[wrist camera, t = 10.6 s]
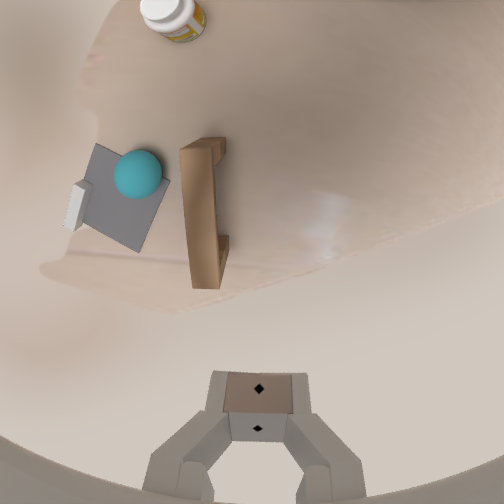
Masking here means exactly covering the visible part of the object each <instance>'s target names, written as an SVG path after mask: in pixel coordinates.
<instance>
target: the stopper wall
mask: <svg viewBox="0 0 504 504" xmlns="http://www.w3.org/2000/svg"><path fill="white" fill-rule="evenodd" d="M92 187H93V185H92V184H90V183H88V182H86V181H84V179H82V180H81V181H79V182H77V183H75V184H74V186H73V189H72V193H71V197H70V201H69V205H68V209H67V213H66V217H65V222H64V226H65V227H66V228H68V229H70V230H71V231H73V232H74V231H76V230H77V229H78V228H79V227H80V226H82V223H83V218H84V214H85V211H86V207H87V204H88V200H89V197H90V194H91V190H92Z"/></svg>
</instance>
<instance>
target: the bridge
mask: <svg viewBox="0 0 504 504" xmlns="http://www.w3.org/2000/svg"><path fill="white" fill-rule="evenodd" d="M179 153H180V168H181V182H182V194H183V206H184V216H185V227H186V236H187V246H188V255H189V263H190V272H191V280H192V287H193V288H194V289H220V285H221V281H222V277H223V273H224V269H225V265H226V261H227V257H228V252H229V236H218V231H217V214H216V195H215V173H214V167H215V165H216V164H217V163H218V162H219V161H220V159H221V158H222V157H223V156H224V155H225V153H226V150H225V137H217V138H200V139H198V140H196V141H194V142H193V143H191V144H189V145H187V146H185V147H184V148H182V149H180V150H179Z"/></svg>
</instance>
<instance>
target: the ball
mask: <svg viewBox="0 0 504 504" xmlns="http://www.w3.org/2000/svg"><path fill="white" fill-rule="evenodd" d="M161 177H162V170H161V166H160V163H159V161H158V160H157V158H156V157H155V156H154V155H152V154H151V153H149V152H147V151H143V150H135V151H131V152H129V153H127V154H125V155H124V156H122V157H121V158H120V159H119V161H118V162H117V164H116V166H115V169H114V182H115V185H116V187H117V189H118V190H119V192H120V193H121V194H123V195H124V196H126V197H128V198H131V199H142V198H146V197H148V196H150V195H151V194H152V193H153V192H154V191H155V190H156V189H157V188H158V186H159V184H160V182H161Z"/></svg>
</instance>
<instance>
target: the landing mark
mask: <svg viewBox="0 0 504 504" xmlns="http://www.w3.org/2000/svg"><path fill="white" fill-rule="evenodd" d="M121 157H122V156H121V155H119V154H117V153H115V152H113V151H111V150H109V149H107V148H105V147H103V146H101V145H99V144H97V143H96V144H95V146H94V149H93V152H92V155H91V158H90V161H89V164H88V167H87V170H86V173H85V177H84V181H86V182H88V183H90V184H92V185H93V187H92V190H91V194H90V197H89V200H88V204H87V207H86V211H85V214H84V218H83V223H85V224H87V225H89V226H90V227H92V228H94V229H96V230H97V231H99V232H101V233H103V234H105V235H106V236H108V237H110V238H112V239H114V240H115V241H117V242H119V243H121V244H123V245H125V246H126V247H128V248H130V249H132V250H134V251H136V252H137V253H139V252H140V250H141V247H142V245H143V242H144V240H145V237H146V235H147V233H148V230H149V228H150V225H151V223H152V221H153V218H154V216H155V214H156V211H157V209H158V207H159V205H160V202H161V200H162V198H163V196H164V193H165V191H166V189H167V187H168V185H169V183H170V180H168V179H166V178H164V177H161V182H160V184H159V186H158V188H157V189H156V190H155V191H154V192H153V193H152V194H151V195H150V196H148V197H146V198H142V199H131V198H128V197H126V196H124V195H123V194H121V193H120V192H119V190H118V189H117V187H116V185H115V182H114V169H115V166H116V164H117V162H118V161H119V159H120V158H121Z"/></svg>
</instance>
